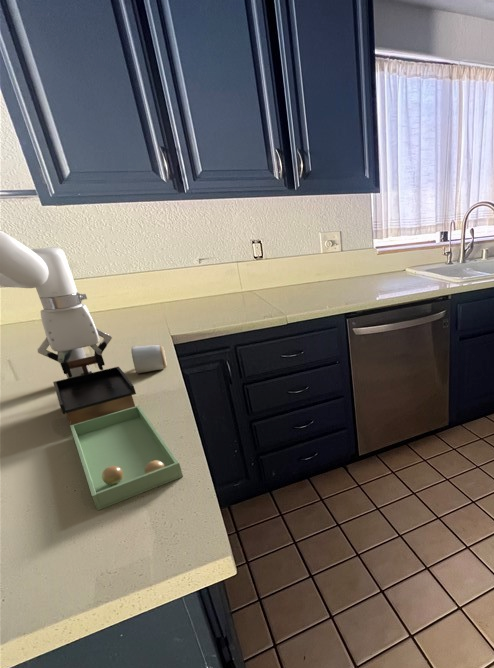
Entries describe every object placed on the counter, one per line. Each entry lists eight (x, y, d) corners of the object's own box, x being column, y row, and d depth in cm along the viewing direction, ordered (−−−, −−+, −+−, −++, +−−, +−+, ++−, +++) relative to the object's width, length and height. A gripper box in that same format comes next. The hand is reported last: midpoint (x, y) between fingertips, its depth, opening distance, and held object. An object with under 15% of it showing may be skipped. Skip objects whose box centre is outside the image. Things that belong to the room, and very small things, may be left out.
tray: (97, 510, 68) (91, 496, 67) (74, 437, 90) (69, 425, 89) (183, 476, 76) (179, 462, 74) (142, 416, 98) (138, 405, 97)
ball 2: (138, 465, 74) (145, 483, 74) (147, 463, 72) (153, 480, 72) (156, 459, 77) (162, 475, 77) (165, 456, 75) (171, 473, 75)
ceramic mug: (168, 371, 124) (161, 346, 121) (136, 377, 121) (129, 351, 118) (168, 360, 133) (161, 337, 130) (138, 365, 129) (131, 341, 126)
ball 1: (102, 488, 73) (98, 480, 71) (104, 472, 75) (101, 463, 73) (123, 486, 74) (121, 478, 72) (125, 470, 76) (122, 461, 74)
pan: (63, 414, 90) (54, 391, 88) (54, 384, 106) (47, 365, 104) (136, 394, 98) (129, 373, 96) (117, 369, 114) (111, 351, 112)
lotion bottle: (85, 375, 124) (61, 307, 116) (97, 378, 121) (73, 309, 113) (64, 382, 119) (38, 312, 111) (77, 385, 117) (50, 314, 109)
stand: (71, 426, 95) (64, 408, 93) (65, 406, 105) (58, 389, 103) (135, 407, 102) (130, 390, 101) (124, 390, 112) (118, 374, 111)
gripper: (100, 294, 109) (121, 360, 116) (15, 306, 99) (43, 377, 106) (105, 298, 104) (126, 367, 111) (15, 311, 94) (45, 386, 101)
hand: (85, 371), depth 109 cm, fingers closed on pan, 6 cm apart
